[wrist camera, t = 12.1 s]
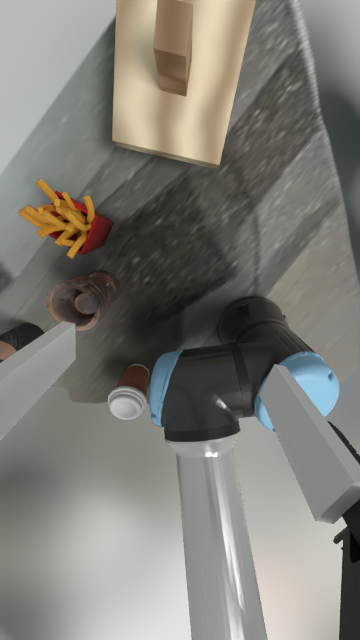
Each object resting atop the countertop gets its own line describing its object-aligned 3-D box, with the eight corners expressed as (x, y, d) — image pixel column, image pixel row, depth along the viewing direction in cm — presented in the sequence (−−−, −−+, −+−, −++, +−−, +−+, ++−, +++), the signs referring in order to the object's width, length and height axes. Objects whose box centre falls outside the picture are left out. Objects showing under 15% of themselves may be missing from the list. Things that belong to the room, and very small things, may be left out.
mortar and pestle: (107, 247, 39) (39, 260, 21) (140, 277, 42) (103, 311, 24) (78, 287, 43) (-1, 327, 25) (110, 312, 45) (58, 365, 27)
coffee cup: (161, 375, 53) (154, 412, 42) (138, 390, 55) (126, 429, 45) (137, 353, 50) (123, 387, 39) (114, 371, 53) (95, 407, 42)
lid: (251, 12, 22) (282, -95, 15) (217, 169, 28) (227, 147, 21) (123, -22, 22) (91, -152, 14) (117, 146, 28) (92, 115, 21)
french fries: (106, 251, 40) (63, 261, 26) (68, 228, 38) (2, 225, 24) (124, 210, 36) (87, 197, 23) (84, 183, 35) (17, 151, 21)
